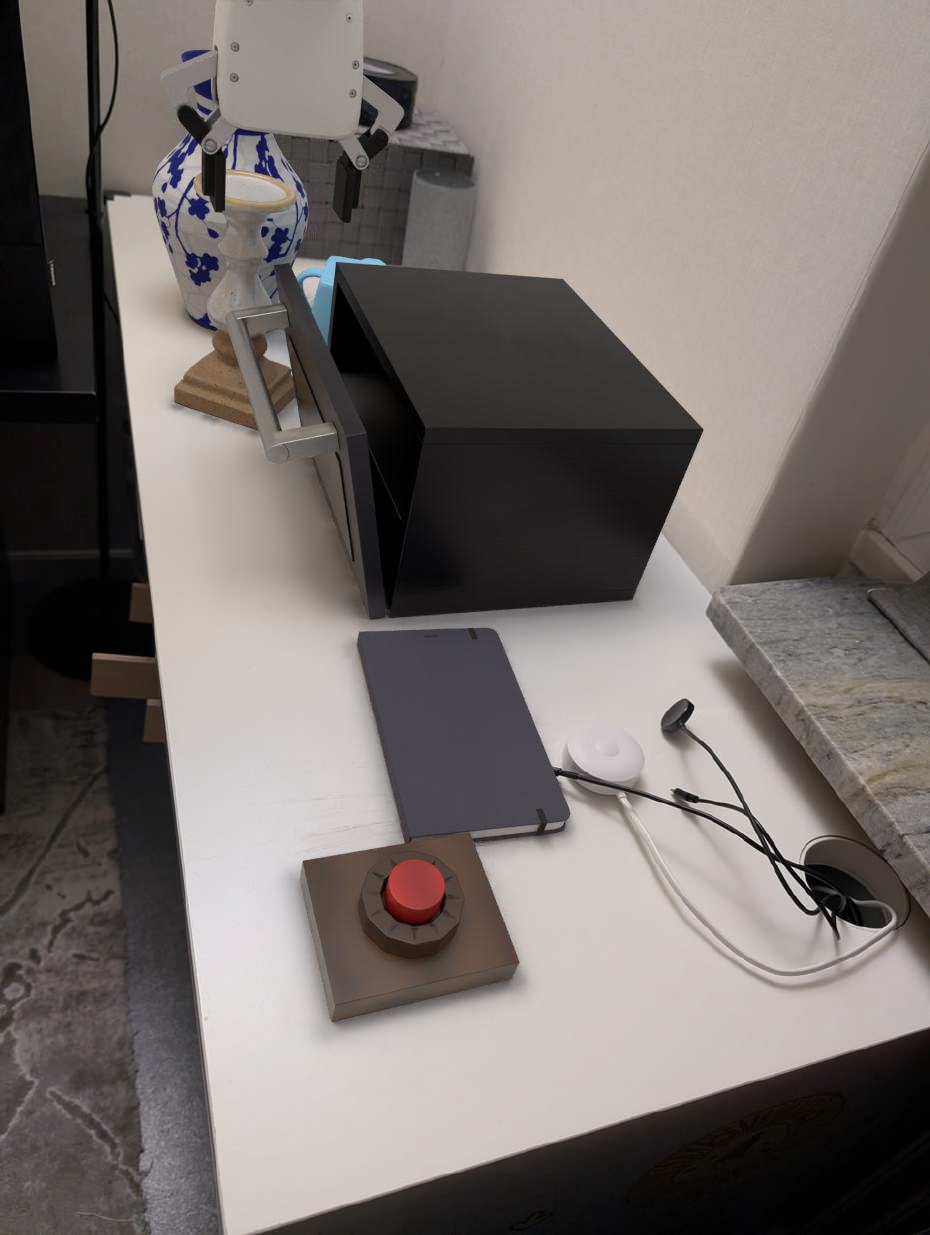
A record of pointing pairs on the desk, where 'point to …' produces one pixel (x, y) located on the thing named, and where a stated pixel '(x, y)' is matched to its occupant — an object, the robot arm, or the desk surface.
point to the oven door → (316, 425)
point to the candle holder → (239, 303)
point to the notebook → (458, 736)
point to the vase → (200, 228)
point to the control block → (403, 928)
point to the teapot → (327, 289)
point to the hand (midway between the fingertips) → (280, 211)
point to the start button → (414, 891)
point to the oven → (503, 439)
